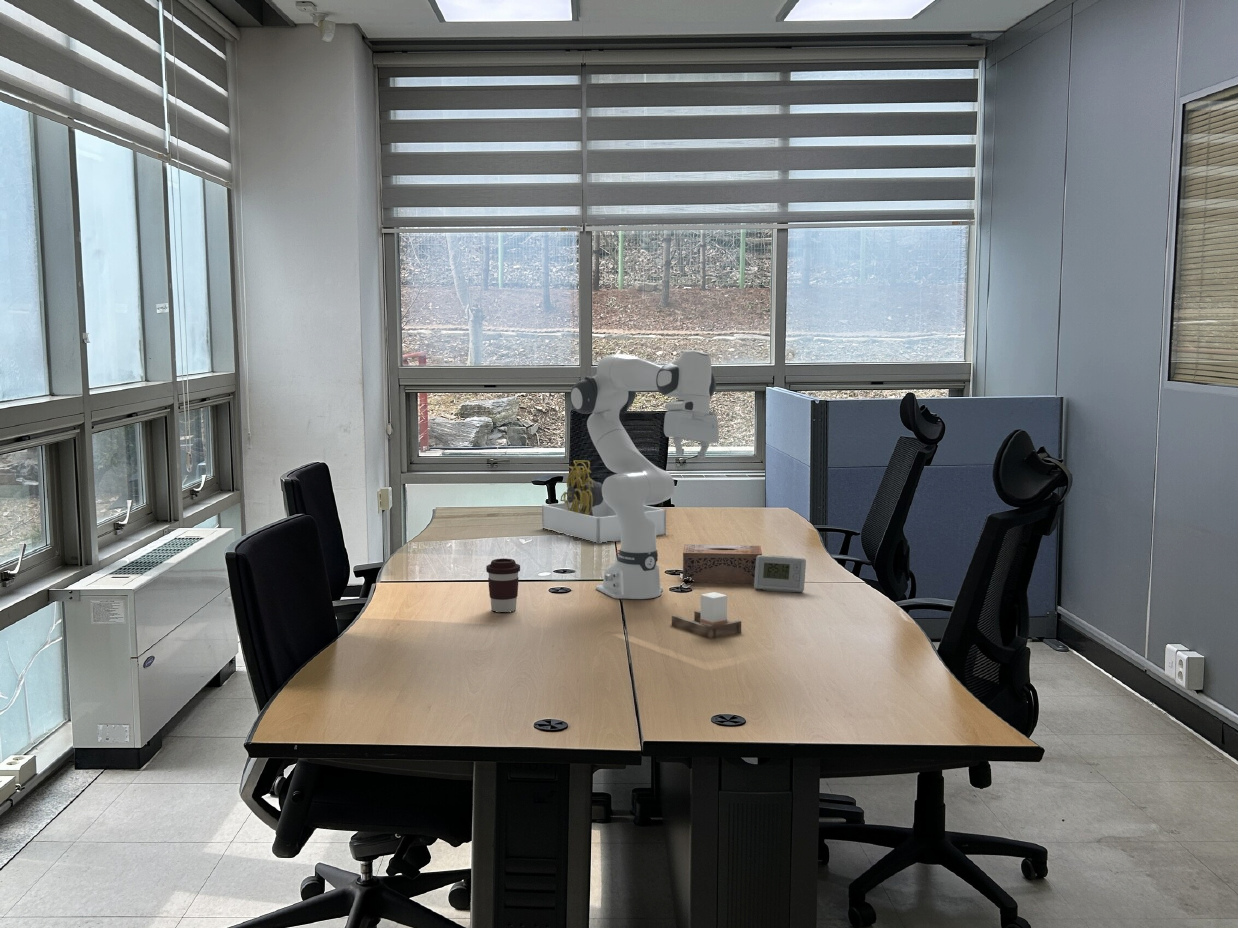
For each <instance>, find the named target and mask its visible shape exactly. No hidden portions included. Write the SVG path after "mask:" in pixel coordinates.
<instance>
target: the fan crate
mask: <svg viewBox="0 0 1238 928" xmlns="http://www.w3.org/2000/svg"><path fill="white" fill-rule="evenodd" d="M568 504H569V508H571V506H572V503H569V502H568ZM574 504H575V501H574ZM541 507H542V508H541V509H542V517H541V518H542V520H541V521H542V522H541V523H542V526H543V527H546V528H550V529H554V530H556V531H559V532H563V533H566V534H569V535H573V536H575V537H579V538H583V539H586V540H590V541H594V542H596V543H595V544H603V543H602V542H606V543H608V542H607V541H613V542H619V541H620V542H621V533H620V524H619V520H618V517H617V515H616V513H615V512H614V510H613V509H612V508H611V507H610V506H609V505H607V503H606V502H605V501H604V499H603V501H602V503H601V504H600V505H596V506H594V507H592V513H593V516H589V515H585V514H581V513H577V512H572V511H568V507H567V503H565V502H558V503H551V504H542V506H541ZM579 508H580V504H579ZM581 509H582V506H581ZM643 509H644V513H645V516H646V518H648V519H650V520H651V521H652V522H653V523H654V524H655V526H656V536H662V535H666V534H667V533H666V531H667V510H666V509H665V508H658V507H655V506H651V505H644V506H643ZM572 510H573V509H572ZM575 537H574V538H575ZM579 538H578V539H579ZM583 539H582V540H583ZM586 540H585V541H586ZM590 541H589V542H590ZM594 542H593V543H594Z"/></svg>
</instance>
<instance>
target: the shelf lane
mask: <svg viewBox="0 0 1238 928" xmlns="http://www.w3.org/2000/svg"><path fill="white" fill-rule="evenodd" d="M693 618H694V619H693V620H691V619H688V618H686V617H682V616H679V615H675V614H674V615H671V624H669V626H670V627H674V628H676V629H678V630H679V629H680V630H682V631H686V632H688V633H691V634H694V635H697V636H699V637H703V638H706V639H707V640H708V639H709V640H712V639H717V638H722V637H726V636H731V635H736V634H740V633H742V620H733V621H732V620H730V619H729V620H728V619H727V623H723V624H719V625H714V626H707V625H704V624H701V623H700V618H701V610H695V611H694V616H693Z"/></svg>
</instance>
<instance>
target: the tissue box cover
mask: <svg viewBox="0 0 1238 928" xmlns="http://www.w3.org/2000/svg"><path fill="white" fill-rule="evenodd" d="M762 551H763V550H762V546H761V545H749V544H747V545H746V544H738V545H737V544H736V545H735V544H692V543H691V544H690V543H689V544H687V543H686V544H684V545H683V553H682V580H683V579H684V578H687V577H691V578H692V579H693V580H694V581H695V582H694V583H718V582H735V584H754V579H755V566H756V557H757V556H758V555H763V552H762ZM736 582H737V583H736Z"/></svg>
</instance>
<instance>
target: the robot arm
mask: <svg viewBox="0 0 1238 928" xmlns="http://www.w3.org/2000/svg"><path fill="white" fill-rule="evenodd" d="M716 388H717V381H716V377H715V375H714V374H713V372H712V359H711V357H710V354H709V353H707V352H704V351H700V350H695V349H693V350H692V349H686V350H683V351H682V353H681V355H680V356H679V357H678V358H677V359H675V360H673V361H672V362H670V363H666V364H664V365H658V364H656V363H653V362H652V361H648V360H646V359H644V358H641V357H639V356H635V355H632V354H626V353H625V354H624V353H617V354H616V353H614V354H608V355H606V356H604V357H602V358H601V359H600V360H599V362H598V363H597V367H596V374H595V375H593V376H590V375H587V376H585V377H584V378H583V379H582V380H579V381H578V382H576V383H575V384H574V385H573V387H572V388H571V390H570V396H569V397H570V398H569V399H570V404H571V405H572V408H573V409H574V410H575V411H576V412H577V413H579V414H585V415H587V414H588V415H589V414H590V415H589V416H588V419H587V421H586V427H587V431H588V433H589V436H590V439H591V442H592V444H593V445H594V447H595V449H596V451H597V452H598V455H599V456H600V458H601V461H602V462H603V463H604V466H605V467H606V468H607V469H608V470H610V471H611V472H613V473H615V474H613V475H610V476H608V477H606V478H605V479H604V481H603V483H602V496H603V499H604V501H605V502H606V503H607V505H609V506H610V507H611V508H612V509H613V510H614V512H615V513H616V515H617V517H618V520H619V524H620V533H621V540H620V549H617V550H616V552H615V555H617V557H616V561H615V562H613V564H612V565H610V566H609V567H608V568H607V569H605V571H604V573H603V583H600V584H597V585H596V586H595V589H596V590H597V591H600V592H601V593H603V594H604V595H607V596H609V597H611V598H613V599H630V600H645V599H646V600H647V599H653V598H657V597H660V596H661V595H662V592H663V591H664V590H663V586H661V577H660V567H659V565H658V564H657V562H658V559H659V558H658V557H659V553H658V549H657V535H656V526H655V524H654V523H653V522H652V521H651V520H650V519H648V518H646V516H645V513H644V509H643V506H644V505H645V506H651V505H658V504H660V503H663V502H665V501H668V500H669V499H671V498H672V496H673V495H674V491H675V481H674V478H673V476H672V475H671V474H670V473H669V471H667V470H664V469H662V468H660V467H658V466H656V465H655V464H654V463H652V462H651V461H650V460H648V458H646V456H644V455H643V454H642V453H641V452H640V451H639V450H638V448H637V447H636V446H635V444H634V442H633V440H632V439H631V437H630V436H629V434H628V432H627V430H626V429H625V427H624V426H623V424H622V422H621V420H620V415H625V414H626V413H628V410H629V408H630V407H631V406H632V405H633V403H634V401H635V399H636V396H637V392H641V391H642V392H643V391H658V392H659V393H660V394H661V395H662V396H664V397H668V398H672V399H673V398H674V399H676V400H672V401H668V402H666V403H665V410H666V412H665V414H664V420H663V422H664V423H663V433H664V435H665V437H667V438H672V439H673V441H672V442H673V445H674V448H675V455H677V456H684V454H685V448H683V445H682V443H683V440H686V441H691V442H698V443H699V444H700V445H699V446H700V450H699V451H697V455H696V456H697V458H698V459H706V453H707V451H708V449H709V447H710V444H717V443H718V441H719V439H720V437H719V434H720V431H719V429H720V428H719V421H718V416H717V414H716V413H715V411H713V410H710V407H711V406H710V405H711V398H712V396H713V395H714V394H715V392H716Z"/></svg>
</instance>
